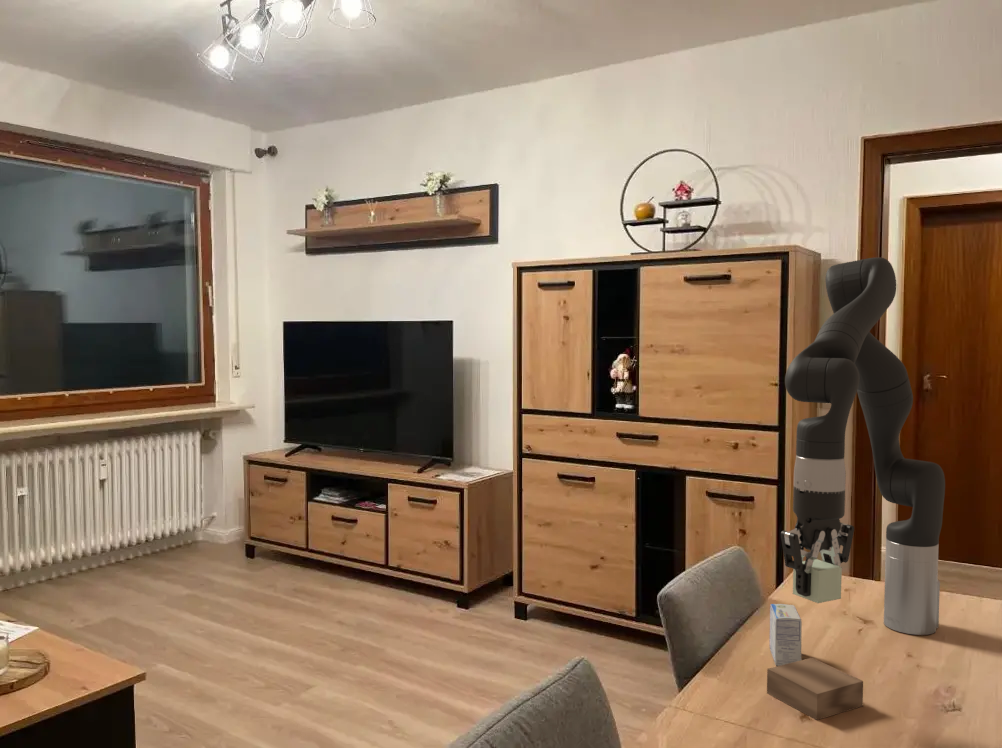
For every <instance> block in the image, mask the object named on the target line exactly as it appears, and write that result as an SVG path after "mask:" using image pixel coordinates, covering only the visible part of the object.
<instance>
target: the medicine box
mask: <svg viewBox="0 0 1002 748" xmlns="http://www.w3.org/2000/svg"><path fill="white" fill-rule="evenodd" d="M802 621H803V620H802V618H801V616H800V614H799V612H798V611H797V608H796V606H795V604H784V603H770V605H769V650H770V653H771V656H772V659H773V662H774V665H775V667H777V666H781V665H785V664H788V663H792V662H796V661H800V660H802V625H803V624H802Z"/></svg>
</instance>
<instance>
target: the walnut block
mask: <svg viewBox="0 0 1002 748" xmlns="http://www.w3.org/2000/svg"><path fill="white" fill-rule="evenodd" d="M766 670H767V671H766V672H767V673H766V674H767V675H766V694H768V695H770V696H772V697H773V698H775V699H778V700H779V701H781V702H783V704H784V703H785V704H786V705H789V706H790V707H792V708H793V709H795V710H797V711H800V712H801V713H803V714H805V715H806V716H808V717H810V718H812V719H814V720H816V721H818V720H822V719H824V718H828V717H830V716H831V717H832V716H834V715H838V714H841V713H844V712H845V713H846V712H848V711H852V710H854V709H857V708H861V707H863V703H864V702H863V701H864V698H863V697H864V681H863V680H862V679H860V678H857V677H855V676H853V675H850V674H848V673H847V672H844V671H842V670H840V669H838V668H835V667H833V666H831V665H829V664H827V663H825V662H822V661H820V660H818V659H816V658H814V657H808V658H806V659H801V660H800V661H796V662H792V663H788V664H785V665H781V666H772V667H770V668H767V669H766Z"/></svg>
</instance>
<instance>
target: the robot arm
mask: <svg viewBox="0 0 1002 748" xmlns="http://www.w3.org/2000/svg"><path fill="white" fill-rule="evenodd" d="M825 289H826V294H827V297H828V301H829V305H830V308H831V311H832V313H833V314H832V315H830V316H829V317H828V318H827V319H826V320H825V321H824V323H823V324H822V325H821V327H820V328H819V331H818V333H816V334H817V335H816V337H815V339H814V341H813V342H811V343H810V344H808V345H807V347H805V348H804V349H802V351H800V352H799V353H798V354H797V355H796V356H795V357H794V358H793V360H792V361H791V362H790V363H789V365H788V368H787V369H786V373H785V375H784V386H785V389H786V392H787V393H788V395H789V396H790V397H791V398H792V399H794V400H795V401H798V402H801V403H817V404H818V403H819V404H830V405H831V406H830V409H829V410H828V412H827V413H826V414H825V415H820V416H813V417H807V418H803V419H802V418H801V420H799V421H798V423H797V426H796V445H795V446H796V447H795V448H796V449H795V461H794V462H795V463H794V468H793V489H792V491H793V496H792V497H793V498H792V500H793V501H792V511H793V513H794V515H796V517H797V518H796V519H797V520H796V522H795V525H794V528H793V529H791V530H789V531H787V530H782V531H781V532H780V540H781V546H782V547H781V548H782V553H783V558H784V565H785V567H786V568H791V569H792V570H793V569H795V571H796V591H797V593H798V594H800V595H803V596H805V597H807V596H810V595H811V573H810V571H811V568H812V565H813V561H814V560H815V559H818V556H819V553H820V556H821V561H824V562H827V563H830V564H834V565H837V566H840V567H841V564H842V563H845V564H846V563H848V562H849V558H850V553H851V548H852V543H853V537H854V533H855V527H854V525H853V524H852V525H851V524H848V523H844V522H841V520H840V519H842V518H843V517H844V516H845V513H846V512H845V509H846V507H845V506H846V505H845V504H846V476H847V475H846V474H847V472H846V466H845V465H846V464H845V454H846V453H845V448H846V447H845V445H846V444H845V443H846V441H845V440H846V431H847V429H846V428H847V425H848V420H849V416H850V412H851V409H852V407H853V403H854V400H855V398H856V395H857V397H858V399H859V403H860V407H861V410H862V413H863V416H864V417H863V418H864V421H865V424H866V428H867V432H868V436H869V440H870V441H869V442H870V445H871V450H872V457H873V464H874V465H873V466H874V471H875V477H876V478H875V479H876V483H877V486H878V490H879V492H880V495H881V496H882V497H883V499H885V501H886V502H887V501H888V502H889V503H892V504H896V505H901V506H905V507H910V508H911V507H912V511H911V516H910V518H907V519H905V520H898V521H897V520H896V521H892V522H890V523H889V524H887V526H886V529H885V560H884V561H885V564H884V569H885V570H884V599H883V601H884V604H883V624H884V626H885V627H887V628H889V629H891V630H893V631H895V632H899V633H904V634H908V635H916V636H917V635H919V636H920V635H921V636H923V635H924V636H927V635H932V634H934V633H936V632H937V629H938V628H939V624H940V620H939V619H940V618H939V617H940V596H941V595H940V594H941V593H940V592H941V591H940V590H941V589H940V586H941V581H940V580H939V579H938V577H939V572H938V571H939V545H940V544H939V543H940V541H939V540H940V534H941V530H942V526H943V513H944V504H945V496H946V495H945V494H946V478H945V472H944V470H943V468H942V466H940V465H939V464H938V463H936V462H933V461H927V460H919V459H913V458H905V457H904V455H903V453H902V450H901V446H900V434H901V430H902V428H903V427H904V424H905V422H906V421H907V418H908V417H909V415H910V413H911V410H912V408H913V403H914V395H913V390H912V387H911V386H912V385H911V382H910V378H909V374H908V370H907V368H906V366H905V364H904V363H903V361H902V360H900V358H899V357H898V356H897V355H896V354H895V353H894V352H893V351H891V350H890V349H889V348H888V347H887V346H886V345H885V344H883V343H882V342H881V341H880V340H878V339H877V337H875V336H874V335H873V334H872V332H871V330H872V329H873V328H874V326H875V325H876V324H877V323H878V322H879V320H880V319H881V318H882V317H883V315H884V314H885V313H886V312H887V310H888V309H889V308H890V306H891V305H892V303H893V302H894V300H895V297H896V294H897V278H896V273H895V270H894V268H893V265H892V263H891V262H890V261H889V260H888V259H887V258H884V257H881V256H880V257H869V258H862V259H858V260H851V261H847V262H842V263H837V264H834V265H831V266H830V267H829V268H828V269H827V271H826V273H825ZM841 546H842V551H841V549H840V548H841ZM807 550H808V551H807ZM804 558H805V560H804ZM803 561H805V564H803V563H802V562H803Z"/></svg>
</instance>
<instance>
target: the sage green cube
mask: <svg viewBox="0 0 1002 748" xmlns="http://www.w3.org/2000/svg"><path fill="white" fill-rule="evenodd" d="M802 563H803V564H805V560H803V562H802ZM842 569H843V568H842V566H841V565H840V566H837V565H834V564H830V563H827V562H824V561H823V560H822V559H821V560H820V559H818V558H817V559H815V560H814V561H813V565H812V568H811V571H810V573H811V595H810V596H807V597H805V596H803V595H800V594H798V593H797V591H796V571H795V569H793V568H792V571H793V572H792V595H795V596H798V597H799V598H802V599H805V600H808V601H811V602H812V603H813V602H814V603H816V604H822V603H825V602H832V601H836V600H841V599H842V577H843V576H842V572H843V570H842Z"/></svg>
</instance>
